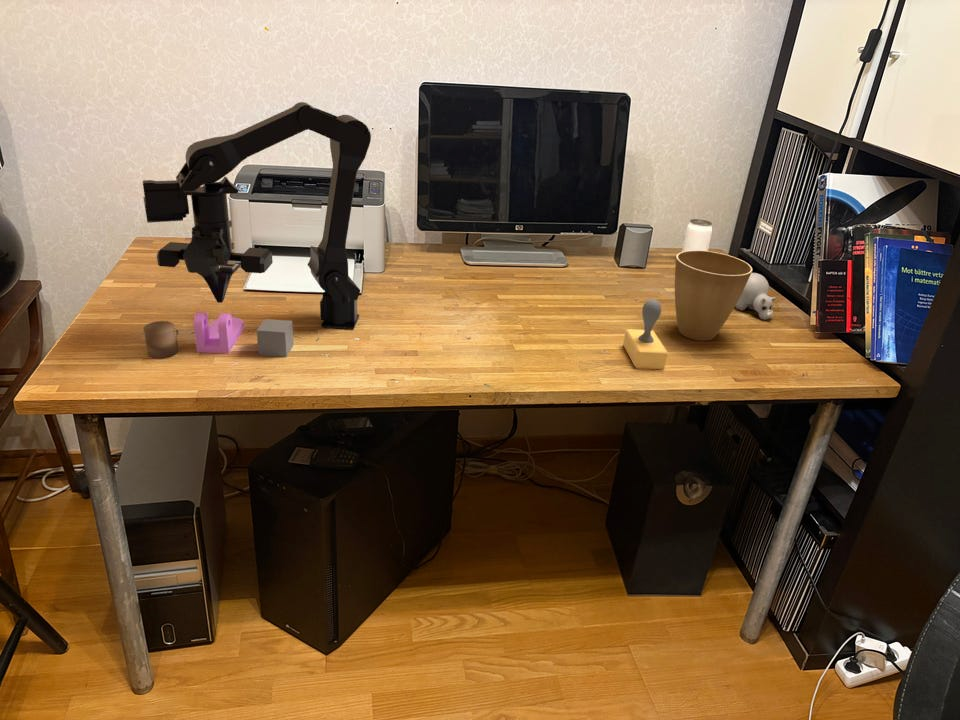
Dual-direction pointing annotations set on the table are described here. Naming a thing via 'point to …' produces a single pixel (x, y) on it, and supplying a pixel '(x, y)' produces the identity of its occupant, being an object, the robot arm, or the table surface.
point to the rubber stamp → (646, 340)
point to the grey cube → (275, 338)
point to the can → (697, 235)
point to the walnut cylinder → (161, 339)
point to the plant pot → (707, 291)
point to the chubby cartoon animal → (757, 296)
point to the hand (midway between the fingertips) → (220, 301)
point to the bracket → (216, 332)
